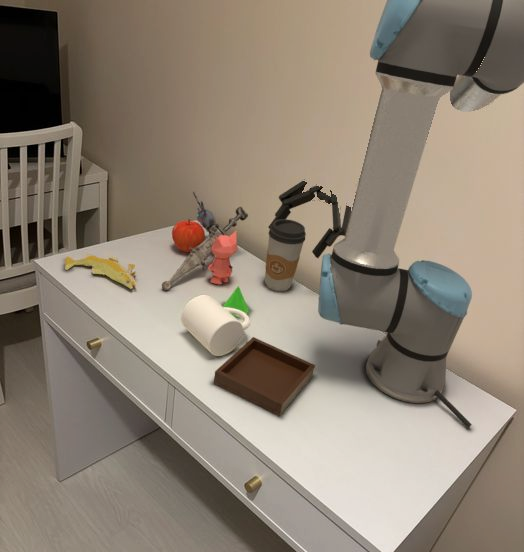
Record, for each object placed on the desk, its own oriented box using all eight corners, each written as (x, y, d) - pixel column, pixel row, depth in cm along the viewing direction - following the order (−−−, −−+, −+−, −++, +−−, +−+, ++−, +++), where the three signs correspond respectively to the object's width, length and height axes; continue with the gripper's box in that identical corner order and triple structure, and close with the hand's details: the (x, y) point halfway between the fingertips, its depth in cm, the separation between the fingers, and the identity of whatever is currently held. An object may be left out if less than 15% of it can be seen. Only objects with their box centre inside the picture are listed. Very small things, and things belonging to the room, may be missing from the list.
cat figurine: (222, 270, 131) (228, 223, 124) (241, 283, 127) (248, 236, 120) (199, 277, 127) (203, 230, 119) (218, 291, 123) (224, 243, 116)
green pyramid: (250, 318, 117) (254, 294, 113) (222, 316, 116) (225, 292, 112) (247, 302, 121) (251, 279, 118) (220, 301, 120) (223, 277, 117)
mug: (207, 361, 103) (211, 326, 98) (179, 333, 109) (181, 299, 104) (257, 344, 110) (263, 310, 105) (228, 318, 115) (232, 285, 111)
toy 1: (91, 249, 129) (56, 269, 124) (88, 237, 127) (53, 257, 121) (152, 282, 121) (118, 305, 116) (150, 270, 119) (116, 293, 113)
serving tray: (312, 376, 104) (315, 365, 102) (279, 416, 94) (282, 404, 92) (251, 348, 108) (253, 336, 107) (213, 383, 98) (214, 371, 97)
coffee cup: (254, 286, 127) (264, 227, 118) (267, 272, 134) (277, 214, 125) (287, 298, 126) (300, 238, 117) (299, 282, 132) (312, 225, 123)
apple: (173, 256, 133) (175, 226, 128) (169, 241, 139) (170, 211, 134) (206, 256, 135) (209, 227, 130) (200, 241, 141) (203, 212, 136)
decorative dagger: (170, 302, 122) (250, 224, 136) (175, 301, 120) (256, 223, 134) (150, 276, 120) (234, 200, 133) (154, 275, 118) (239, 197, 131)
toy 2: (220, 263, 141) (191, 216, 144) (233, 255, 142) (204, 209, 144) (215, 241, 127) (183, 190, 130) (230, 233, 127) (198, 182, 130)
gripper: (395, 197, 123) (339, 273, 122) (311, 160, 135) (260, 229, 135) (389, 178, 116) (329, 258, 116) (301, 140, 129) (248, 212, 128)
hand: (292, 242), depth 125 cm, fingers open, 13 cm apart
